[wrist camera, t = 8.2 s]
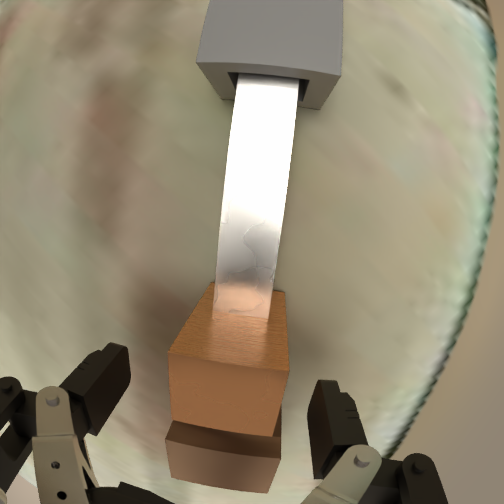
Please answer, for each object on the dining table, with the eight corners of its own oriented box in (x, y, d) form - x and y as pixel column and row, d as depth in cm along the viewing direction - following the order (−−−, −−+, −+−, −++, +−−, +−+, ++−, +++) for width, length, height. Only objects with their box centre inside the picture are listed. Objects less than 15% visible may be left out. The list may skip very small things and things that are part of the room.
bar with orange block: (204, 410, 18) (180, 487, 11) (232, 87, 13) (199, 20, 6) (260, 419, 18) (252, 499, 11) (310, 95, 13) (336, 31, 6)
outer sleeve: (221, 99, 14) (195, 62, 9) (242, -18, 11) (230, -69, 6) (319, 109, 13) (341, 76, 8) (326, -9, 11) (340, -60, 6)
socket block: (192, 417, 19) (171, 477, 13) (192, 375, 18) (165, 439, 12) (270, 429, 19) (267, 493, 13) (281, 388, 17) (280, 458, 12)
